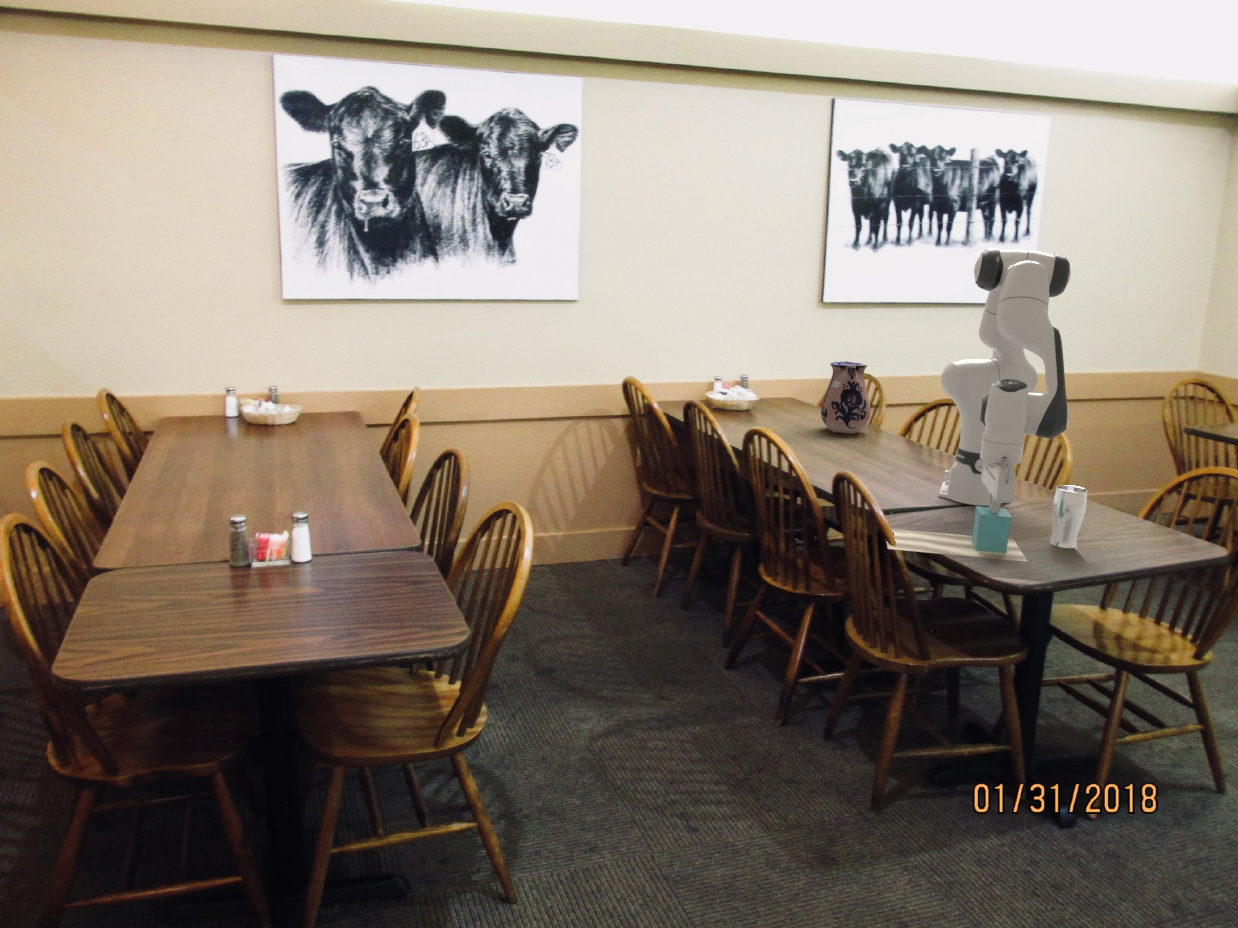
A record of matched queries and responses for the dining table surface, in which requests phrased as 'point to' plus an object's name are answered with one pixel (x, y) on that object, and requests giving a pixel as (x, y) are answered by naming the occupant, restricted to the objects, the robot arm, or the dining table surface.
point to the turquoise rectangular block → (991, 530)
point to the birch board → (949, 545)
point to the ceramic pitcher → (846, 399)
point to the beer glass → (1067, 515)
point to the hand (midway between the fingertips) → (993, 511)
